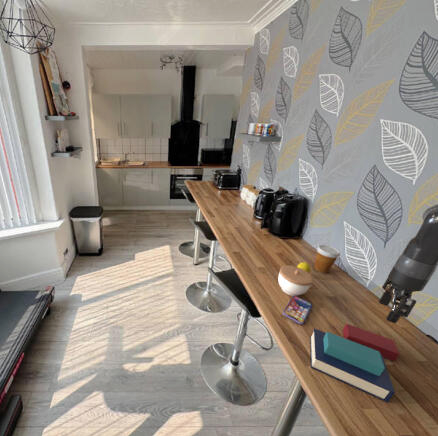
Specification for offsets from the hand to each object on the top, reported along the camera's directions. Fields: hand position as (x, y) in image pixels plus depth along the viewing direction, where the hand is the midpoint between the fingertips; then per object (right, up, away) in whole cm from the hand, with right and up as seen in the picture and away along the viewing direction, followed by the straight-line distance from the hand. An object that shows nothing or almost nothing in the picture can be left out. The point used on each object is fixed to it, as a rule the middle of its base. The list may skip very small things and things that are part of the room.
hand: (386, 312), depth 75 cm
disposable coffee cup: (+14, +3, +47) cm, 49 cm away
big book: (-15, -17, -1) cm, 22 cm away
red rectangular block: (0, -14, +6) cm, 15 cm away
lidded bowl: (-12, -3, +31) cm, 33 cm away
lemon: (-1, +1, +41) cm, 41 cm away
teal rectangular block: (-14, -12, -3) cm, 19 cm away
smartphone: (-16, -7, +20) cm, 26 cm away
